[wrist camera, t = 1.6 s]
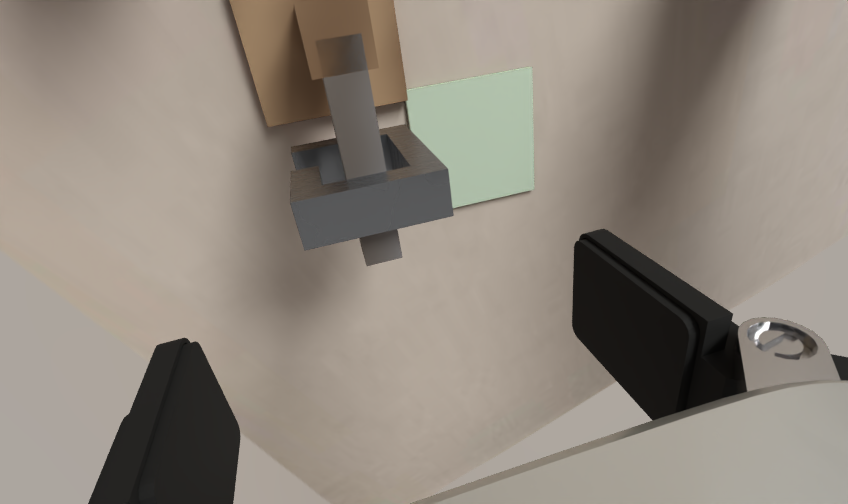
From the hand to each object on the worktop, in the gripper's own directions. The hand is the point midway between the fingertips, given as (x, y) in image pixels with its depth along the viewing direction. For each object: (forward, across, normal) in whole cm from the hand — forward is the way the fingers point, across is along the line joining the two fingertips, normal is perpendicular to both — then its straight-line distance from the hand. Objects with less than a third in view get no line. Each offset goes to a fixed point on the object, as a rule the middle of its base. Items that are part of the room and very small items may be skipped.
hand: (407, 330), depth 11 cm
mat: (+22, -10, +3) cm, 24 cm away
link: (+15, -1, 0) cm, 15 cm away
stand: (+22, -1, -3) cm, 23 cm away
